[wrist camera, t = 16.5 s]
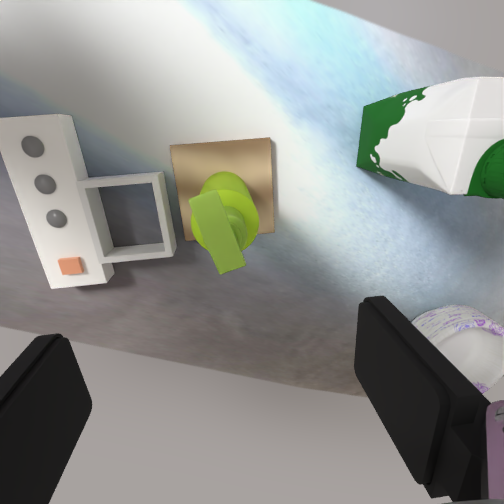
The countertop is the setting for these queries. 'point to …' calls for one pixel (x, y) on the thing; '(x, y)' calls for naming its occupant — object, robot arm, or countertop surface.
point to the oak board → (230, 160)
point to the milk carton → (439, 137)
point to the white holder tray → (71, 201)
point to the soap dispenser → (224, 220)
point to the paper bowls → (466, 342)
